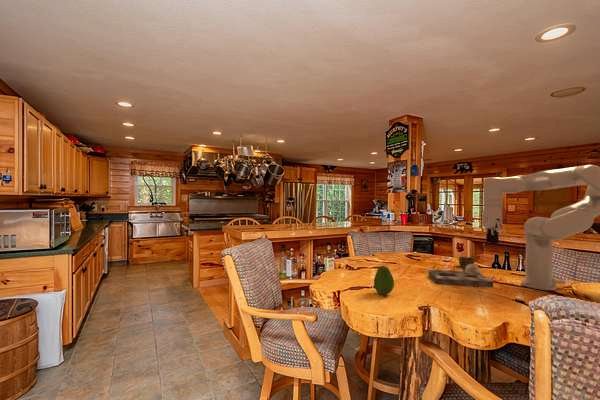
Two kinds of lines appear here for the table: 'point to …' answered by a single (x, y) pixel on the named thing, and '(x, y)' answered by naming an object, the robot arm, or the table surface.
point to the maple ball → (472, 270)
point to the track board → (458, 278)
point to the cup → (465, 262)
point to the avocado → (383, 281)
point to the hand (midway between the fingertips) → (492, 242)
